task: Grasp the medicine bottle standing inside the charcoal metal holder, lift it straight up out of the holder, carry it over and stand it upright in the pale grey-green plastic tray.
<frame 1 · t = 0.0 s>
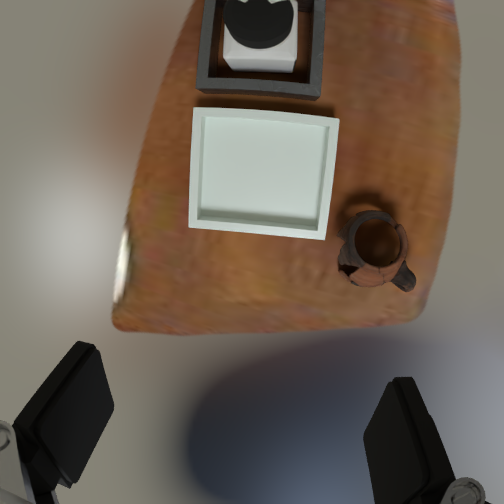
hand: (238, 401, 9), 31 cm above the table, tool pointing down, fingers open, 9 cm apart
tray: (262, 170, 37), on the table
broken pottery ring: (370, 249, 40), on the table
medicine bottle: (263, 46, 32), resting in holder
holder: (263, 45, 32), on the table
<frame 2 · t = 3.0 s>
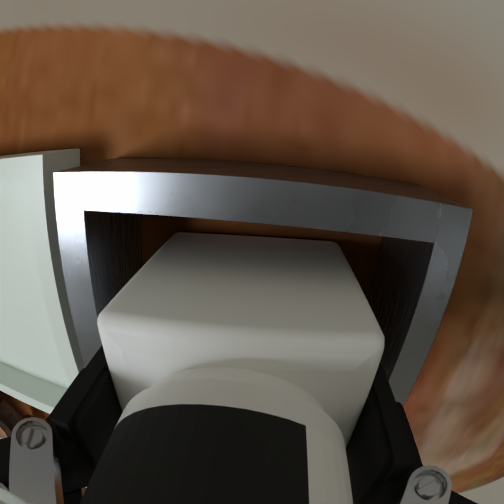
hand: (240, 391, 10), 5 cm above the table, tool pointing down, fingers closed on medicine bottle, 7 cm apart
tray: (8, 284, 16), on the table
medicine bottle: (252, 305, 15), resting in holder, touching gripper
holder: (253, 308, 15), on the table
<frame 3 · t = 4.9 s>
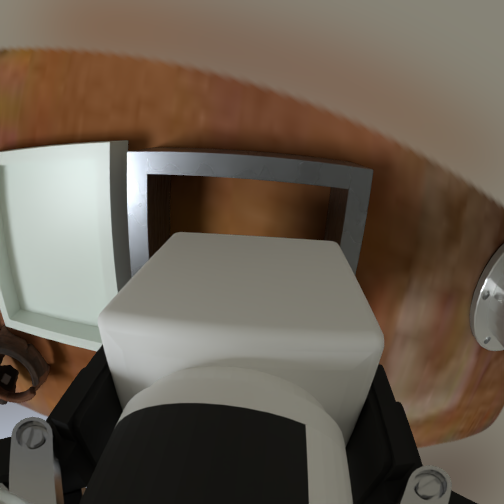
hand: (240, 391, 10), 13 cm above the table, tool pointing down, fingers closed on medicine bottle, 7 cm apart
tray: (57, 243, 23), on the table
broken pottery ring: (20, 348, 28), on the table
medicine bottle: (252, 305, 15), point 8 cm above the table, touching gripper
holder: (245, 246, 22), on the table
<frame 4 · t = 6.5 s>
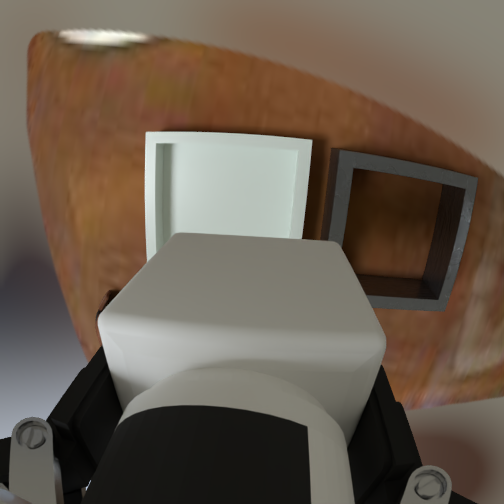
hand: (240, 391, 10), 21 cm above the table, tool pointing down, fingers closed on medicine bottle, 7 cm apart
tray: (226, 218, 30), on the table
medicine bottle: (253, 306, 15), point 16 cm above the table, touching gripper
holder: (388, 225, 29), on the table
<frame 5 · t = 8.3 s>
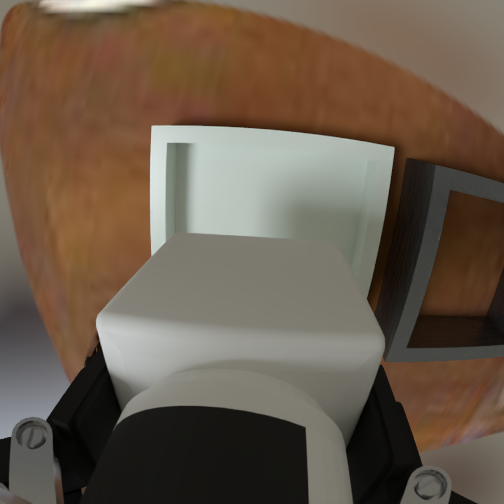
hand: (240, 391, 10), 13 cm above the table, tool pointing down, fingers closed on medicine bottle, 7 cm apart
tray: (263, 249, 22), on the table
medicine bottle: (252, 306, 15), point 8 cm above the table, touching gripper
holder: (461, 257, 21), on the table
when the fingers open (7 cm above the table, at t = 9.9 s): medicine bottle drops 1 cm, resting on tray.
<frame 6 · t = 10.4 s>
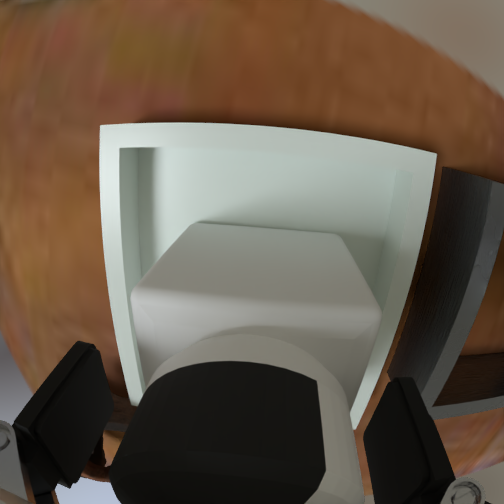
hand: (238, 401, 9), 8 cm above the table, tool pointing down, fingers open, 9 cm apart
tray: (255, 286, 17), on the table
broken pottery ring: (108, 402, 22), on the table
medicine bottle: (260, 292, 16), point 1 cm above the table, touching tray
holder: (497, 288, 16), on the table
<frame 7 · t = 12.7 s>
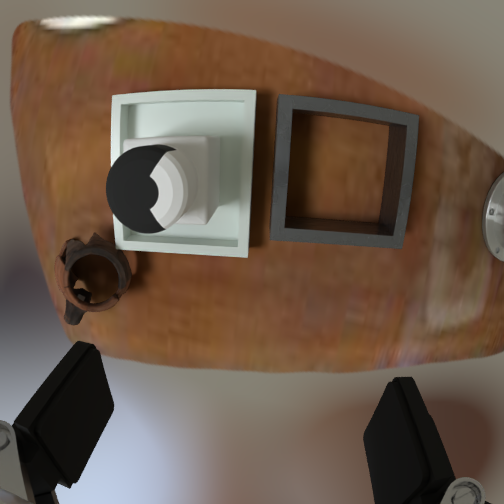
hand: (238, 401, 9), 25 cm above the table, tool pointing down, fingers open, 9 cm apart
tray: (184, 170, 31), on the table
broken pottery ring: (97, 268, 36), on the table
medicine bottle: (185, 171, 31), point 1 cm above the table, touching tray
holder: (337, 169, 31), on the table
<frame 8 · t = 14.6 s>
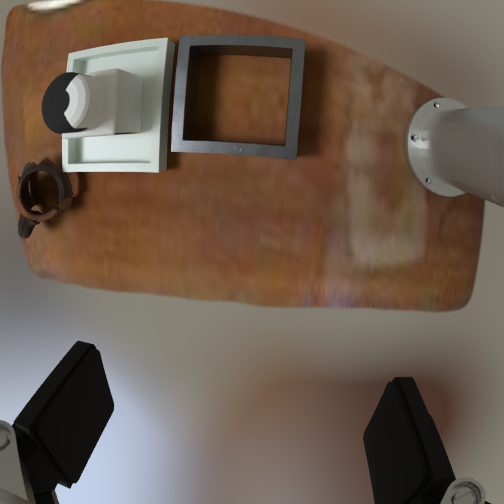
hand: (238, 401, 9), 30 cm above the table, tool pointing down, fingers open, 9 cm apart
tray: (118, 107, 34), on the table
broken pottery ring: (50, 193, 39), on the table
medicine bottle: (118, 107, 34), point 1 cm above the table, touching tray
holder: (241, 97, 33), on the table
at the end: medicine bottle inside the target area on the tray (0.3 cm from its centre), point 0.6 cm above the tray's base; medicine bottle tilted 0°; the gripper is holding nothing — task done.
